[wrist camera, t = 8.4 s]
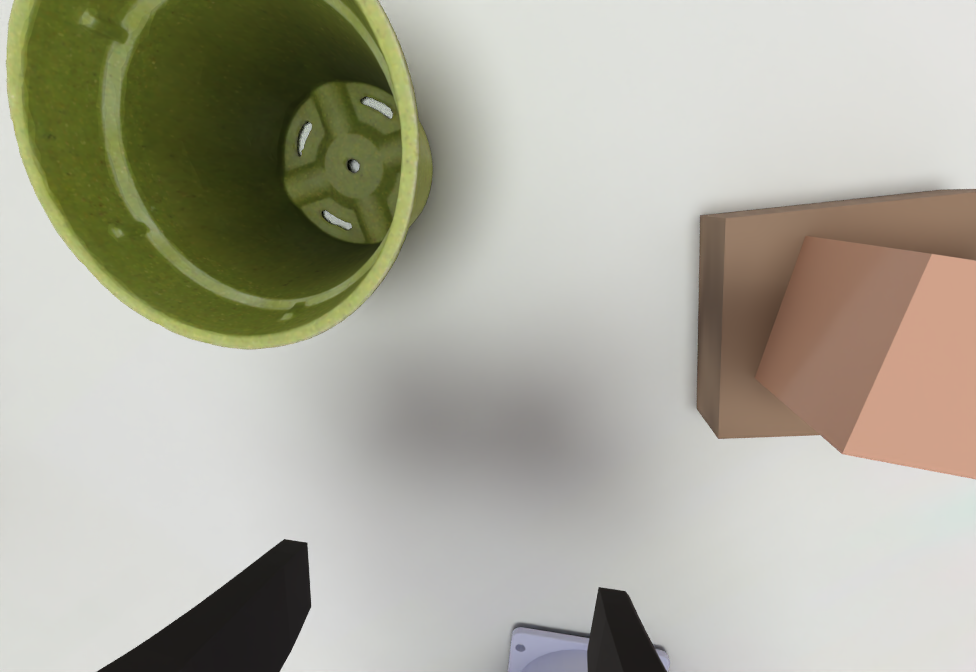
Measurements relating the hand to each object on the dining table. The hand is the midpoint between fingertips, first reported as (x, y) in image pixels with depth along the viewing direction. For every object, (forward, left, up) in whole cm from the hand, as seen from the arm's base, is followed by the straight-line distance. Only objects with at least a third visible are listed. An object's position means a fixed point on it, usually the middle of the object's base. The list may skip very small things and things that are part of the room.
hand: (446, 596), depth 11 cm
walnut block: (+6, -12, -10) cm, 17 cm away
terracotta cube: (+6, -12, -7) cm, 15 cm away
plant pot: (+10, +6, -10) cm, 15 cm away
